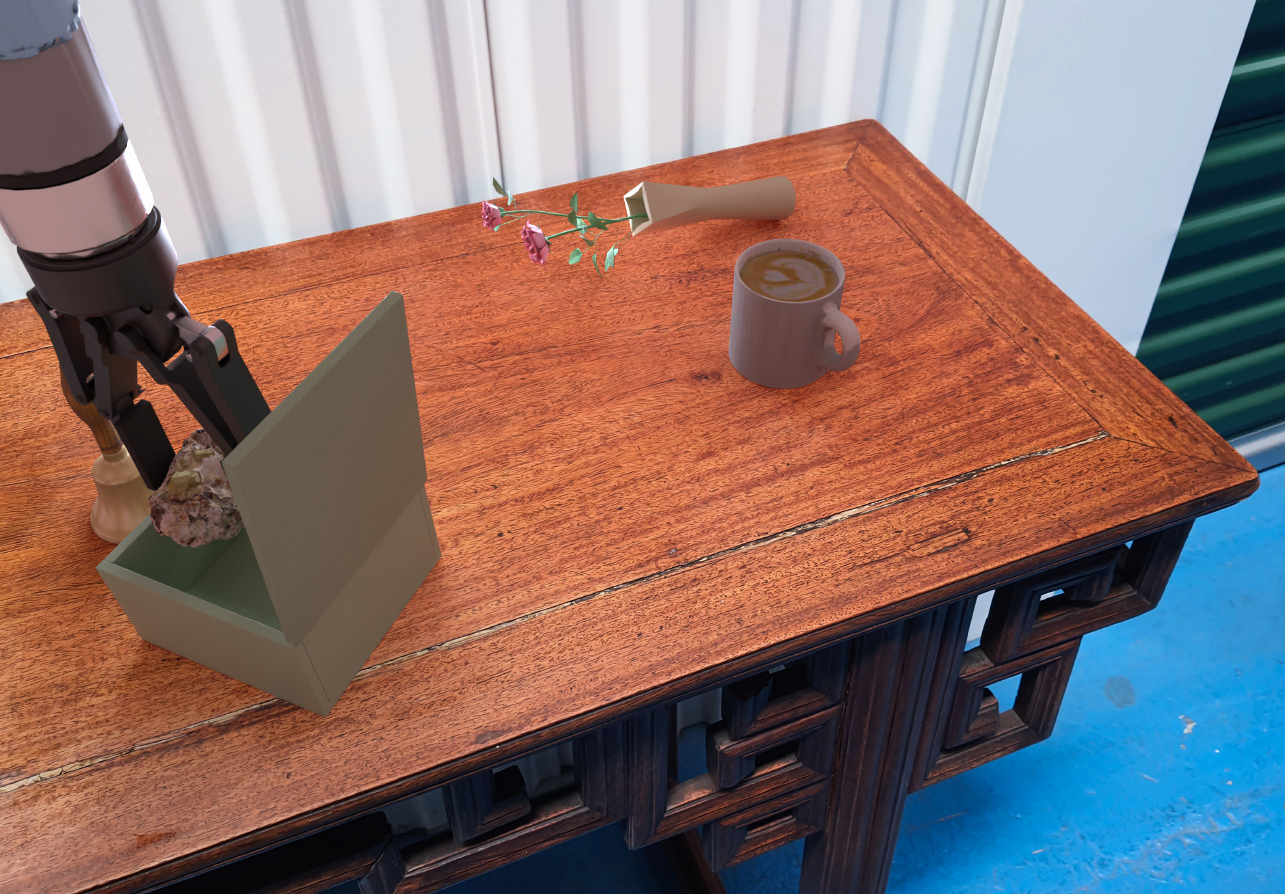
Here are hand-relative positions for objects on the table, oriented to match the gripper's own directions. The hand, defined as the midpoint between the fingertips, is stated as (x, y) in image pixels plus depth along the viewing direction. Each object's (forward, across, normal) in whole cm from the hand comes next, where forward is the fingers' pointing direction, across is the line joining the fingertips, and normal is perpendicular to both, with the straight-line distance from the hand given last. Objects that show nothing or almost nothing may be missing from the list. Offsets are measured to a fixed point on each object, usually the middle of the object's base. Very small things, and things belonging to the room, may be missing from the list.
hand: (214, 495), depth 71 cm
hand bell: (+10, +13, -2) cm, 17 cm away
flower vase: (+10, -12, -52) cm, 54 cm away
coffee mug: (+10, -31, -41) cm, 52 cm away
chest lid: (-8, -13, 0) cm, 15 cm away
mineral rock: (0, 0, 0) cm, 1 cm away
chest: (+10, -4, 0) cm, 11 cm away
